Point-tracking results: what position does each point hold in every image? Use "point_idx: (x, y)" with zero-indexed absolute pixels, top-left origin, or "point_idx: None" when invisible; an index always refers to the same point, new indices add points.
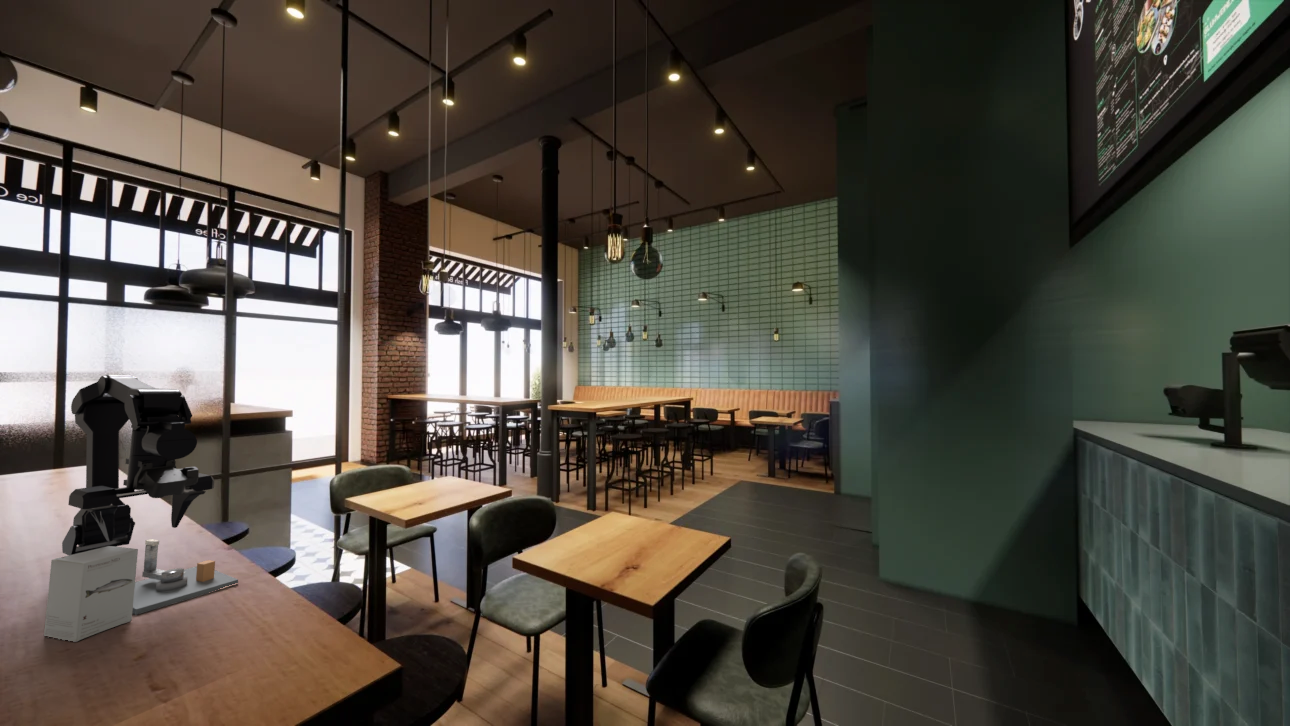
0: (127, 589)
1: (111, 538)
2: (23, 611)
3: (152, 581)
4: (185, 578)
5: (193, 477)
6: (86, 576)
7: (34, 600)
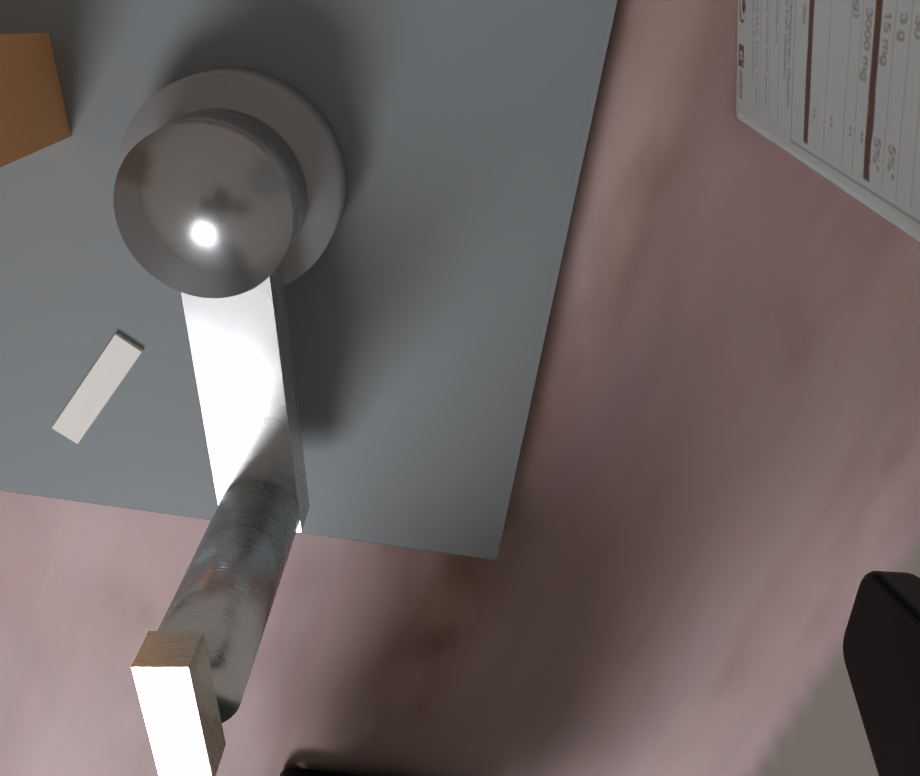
0: None
1: (914, 597)
2: (782, 656)
3: None
4: (142, 132)
5: None
6: None
7: (665, 765)
